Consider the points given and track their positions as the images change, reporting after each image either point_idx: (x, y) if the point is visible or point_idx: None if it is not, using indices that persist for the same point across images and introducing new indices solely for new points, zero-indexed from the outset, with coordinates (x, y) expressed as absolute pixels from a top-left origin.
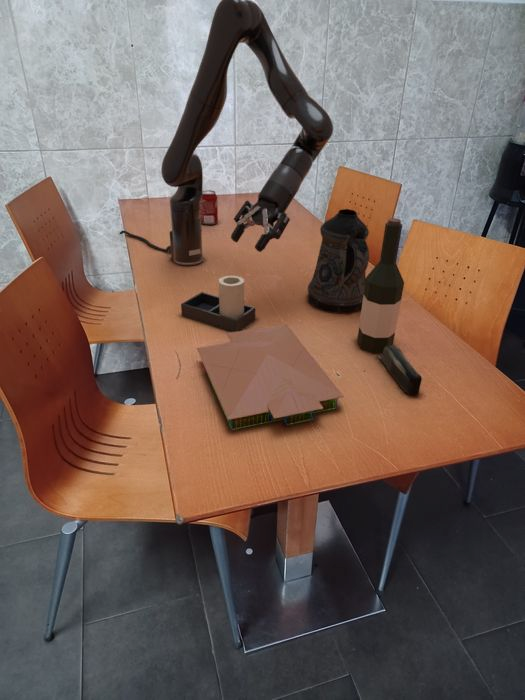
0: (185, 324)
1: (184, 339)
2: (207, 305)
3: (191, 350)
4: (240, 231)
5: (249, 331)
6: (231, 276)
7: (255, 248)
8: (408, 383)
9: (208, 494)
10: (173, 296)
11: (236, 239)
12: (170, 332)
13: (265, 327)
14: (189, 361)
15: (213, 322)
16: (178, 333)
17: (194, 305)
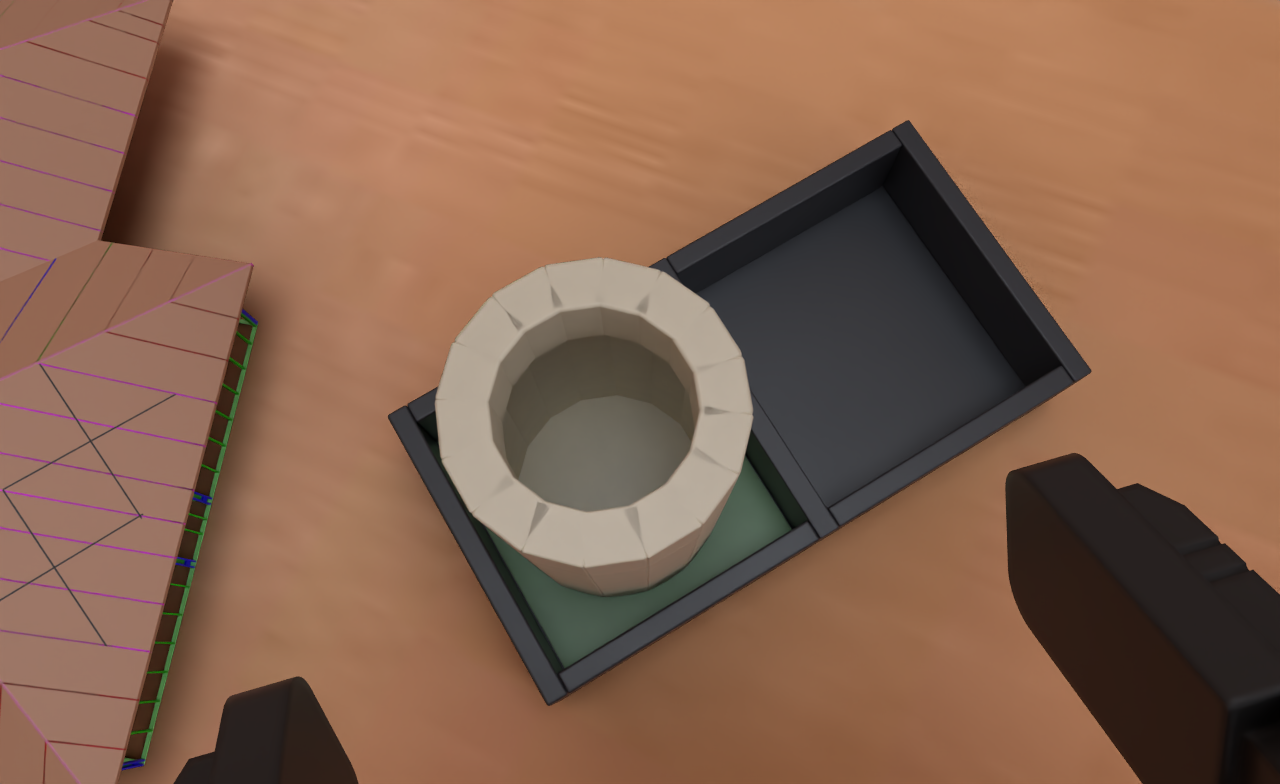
0: (733, 150)
1: (520, 71)
2: (952, 405)
3: (356, 63)
4: (1151, 713)
5: (73, 388)
6: (713, 460)
7: (306, 694)
8: None
9: None
10: (1269, 228)
11: (1032, 584)
12: (662, 20)
13: (142, 593)
14: (235, 8)
15: None
16: (622, 63)
17: (964, 287)
